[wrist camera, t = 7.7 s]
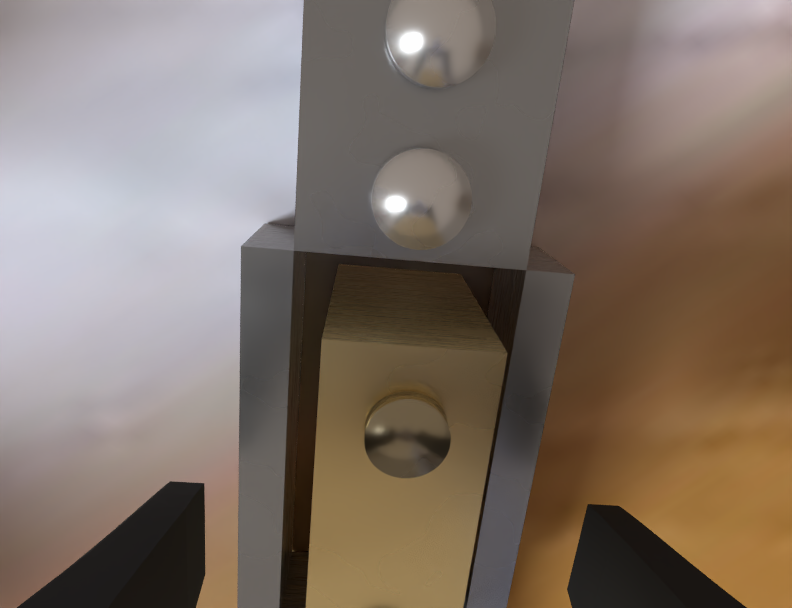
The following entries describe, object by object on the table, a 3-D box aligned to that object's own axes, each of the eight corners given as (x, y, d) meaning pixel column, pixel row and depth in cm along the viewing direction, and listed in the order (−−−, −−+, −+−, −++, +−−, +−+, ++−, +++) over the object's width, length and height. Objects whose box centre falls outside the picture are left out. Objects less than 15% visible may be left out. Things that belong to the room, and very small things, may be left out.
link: (459, 272, 14) (514, 363, 8) (423, 535, 16) (447, 727, 11) (338, 262, 13) (319, 348, 8) (321, 530, 16) (297, 724, 11)
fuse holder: (579, 20, 12) (648, -13, 9) (459, 682, 18) (477, 793, 15) (270, -17, 11) (235, -66, 8) (254, 677, 17) (230, 791, 14)
